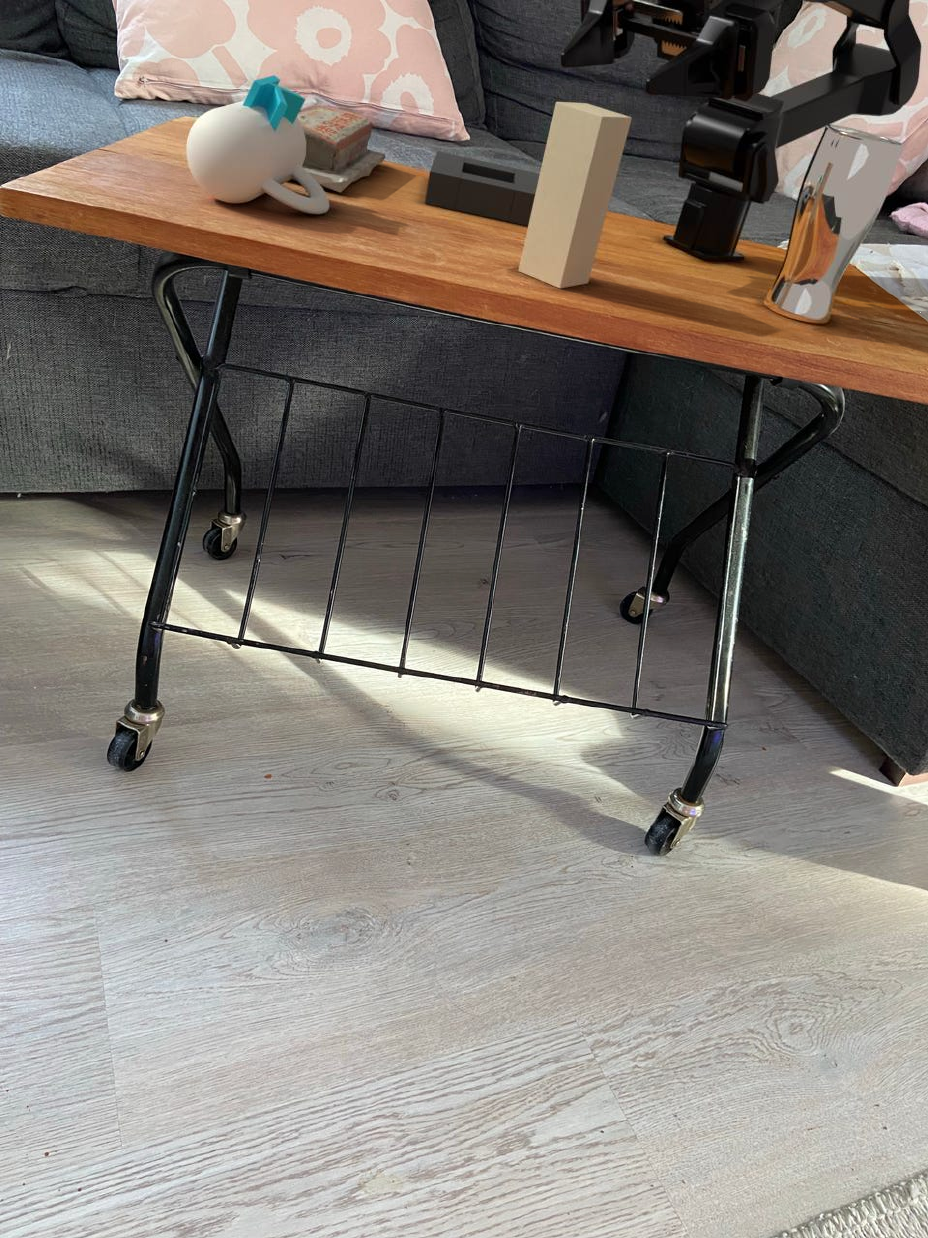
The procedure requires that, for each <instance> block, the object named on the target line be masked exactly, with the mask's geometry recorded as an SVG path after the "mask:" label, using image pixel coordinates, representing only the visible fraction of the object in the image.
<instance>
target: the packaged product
mask: <svg viewBox="0 0 928 1238" xmlns="http://www.w3.org/2000/svg"><path fill="white" fill-rule="evenodd" d="M297 118H298V120H299V121H300V123H301V125H302V127H303V130H304V134H305V139H306V156H305V159H304V162H303V165H302V167H303V168H304V169H305V170H306V171H307V172H308V173H309V174H310V175H311V176H312V177H313V178H314V179H315V180H316V181H317V182H318V183H319V185H320V186H321V187H322V189H327V190H329V191H330V190H331V191H334V192H337V193H342V192H343V191H344V190H345V189H346V188H347V187H348V186H349V185H350V184H352V183H354V182H356V181H358V180H360V179H361V178H363V177H369V176H370V175H371V173H372V170H373V169H374V168H375V167H377V166H378V165H379V164H381V163H384V160H385V158H386V153H384V152H379V151H374V150H371V149H368V146H369V145H368V144H369V142H370V141H369V140H370V139H371V136H372V133H373V128H374V127H373V126H374V124H373V122H372V121H371V120H370V119H368V118H367V117H366V116H364V114H362V113H359V112H354V111H350V110H346V109H341V108H337V107H334V106H329V105H323V104H319V105H315V106H312V107H309V108H306V109H303V110H300V111H299V113H298V115H297ZM290 181H295V182H297V181H296V180H295V179H294V178H292V179H290Z"/></svg>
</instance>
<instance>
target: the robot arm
mask: <svg viewBox="0 0 928 1238" xmlns="http://www.w3.org/2000/svg"><path fill="white" fill-rule="evenodd" d="M802 1H803V2H806V3H807V2H808V3H815V4H817V3H818V4H821V5H824V6H825V7H827V8H829V9H832V10H833V11H835V12H838V13H840V14H842V15H844V16H845V17H846V25H845V26H846V27H845V28H844V30H843V31H842V33H841V35H840V36H839V37H838V39H837V41H836V42H835V44H834V45H833V47H832V50H831V51H832V53H831V55H832V57H831V58H832V61H831V63H832V64H831V65H832V66H831V67H832V70H831V71H829V72H827V73H824V74H821V75H820V76H817V77H815V78H812V79H810V80H807V81H805V82H802V83H800V84H797V85H795V86H793V87H791V88H788V89H786V90H783V91H781V92H778V93H776V94H773V95H771V96H768V95H766V94H762V93H761V92H762V91H763V90H765V88H766V87H767V85H768V82H769V80H770V78H771V68H772V59H773V49H774V39H775V34H776V32H777V30H778V24H779V16H780V13H781V6H782V5H783V2H784V0H657V2H656V3H655V2H651V1H647V0H580V25H579V27H578V29H577V30H576V31H575V33H574V34H573V35H572V37H571V39H570V40H569V41H568V43H567V44H566V46H565V47H564V48H563V50H562V51H561V53H560V66H561V67H562V68H564V69H567V68H585V67H595V66H607V65H613V64H614V63H615V60H616V59H622V58H624V57H625V56H626V55H628V54H629V52H630V51H631V48H632V46H633V44H634V41H635V39H636V34H638V35H641V36H645V37H648V38H651V39H653V40H654V44H656V58H658V59H662V60H665V61H667V62H665V63H664V64H663V65H661V66H660V67H659V68H657V69H656V70H655V71H653V73H651V74H650V76H649V77H647V78H646V80H645V83H644V84H645V86H644V88H645V90H644V91H645V94H646V95H649V96H669V97H670V96H671V97H695V98H707V100H708V101H707V102H705V103H703V104H702V105H700V106H698V108H697V109H696V110H695V111H694V112H693V113H692V115H691V116H690V117H689V118H688V120H687V121H686V123H685V125H684V128H683V131H682V134H681V144H680V155H679V165H678V175H677V177H678V178H680V179H683V180H688V181H691V184H690V187H689V191H688V193H687V197H686V198H685V199H684V200H683V204H682V207H681V209H680V210H681V211H680V214H679V217H678V220H677V222H676V223H677V224H676V227H675V230H674V234H673V235H672V234H663V238H662V240H663V241H664V242H666V243H668V244H671V245H672V246H675V247H677V248H678V249H679V248H680V249H681V250H683V251H685V252H687V253H689V254H690V255H691V254H692V255H693V256H696V257H698V258H700V259H702V260H706V261H745V259H746V255H745V254H744V253H741V252H739V251H737V247H738V243H739V240H740V237H741V235H742V232H743V229H744V226H745V223H746V220H747V217H748V215H749V212H750V208H751V206H752V203H756V204H760V205H765V203H766V202H769V201H770V200H771V197H772V196H773V194H774V192H775V191H776V189H777V187H778V184H779V182H780V177H779V170H778V164H777V157H776V156H777V155H776V150H778V149H780V148H781V147H784V146H786V145H788V144H790V143H792V142H794V141H796V140H799V139H801V138H803V137H806V136H808V135H809V134H812V133H814V132H816V131H819V130H821V129H824V128H825V126H826V125H833V124H834V123H836V122H838V121H840V120H843V119H845V118H847V117H849V116H852V115H857V116H858V115H859V116H860V115H861V116H870V117H871V116H872V117H883V116H890V115H894V114H895V113H897V112H899V111H900V110H901V109H902V108H903V107H904V106H905V105H906V104H908V103H909V102H910V100H911V99H912V97H913V95H915V92H916V90H917V87H918V83H919V78H920V71H921V70H920V68H921V66H920V65H921V58H922V57H921V56H922V42H921V39H920V37H919V34H918V32H917V30H916V28H915V26H914V23H913V22H912V18H911V16H910V2H911V0H802ZM860 25H861V26H864V27H869V28H873V29H878V30H882V31H883V39H884V41H885V43H886V46H887V48H886V49H885V48H883V47H877V46H873V45H869V44H865V43H862V42H858V43H857V30H858V28H859V27H860Z"/></svg>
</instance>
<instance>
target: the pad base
mask: <svg viewBox="0 0 928 1238" xmlns="http://www.w3.org/2000/svg"><path fill="white" fill-rule="evenodd" d="M539 176H540V172H539V173H538V172H534V171H531V170H525V169H521V168H520V169H519V168H516V167H511V166H507V165H502V164H498V163H493V162H488V161H484V160H480V159H476V158H470V157H467V156H462V155H457V154H454V153H448V152H444V151H440V150H437V151H436V153H435V156H434V159H433V162H432V164H431V168H430V171H429V176H428V180H427V181H428V182H427V187H426V193H425V200H424V205H425V204H426V205H430V206H435V207H439V208H443V209H448V210H454V211H457V212H462V213H466V214H471V215H476V216H480V217H484V218H489V219H494V220H498V221H502V222H503V221H504V222H508V223H513V224H517V225H522V226H525V227H526V226H527V227H528V225H529V221H530V216H531V212H532V207H533V203H534V199H535V194H536V190H537V185H538V181H539Z"/></svg>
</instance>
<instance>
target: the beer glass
mask: <svg viewBox="0 0 928 1238" xmlns="http://www.w3.org/2000/svg"><path fill="white" fill-rule="evenodd" d="M904 147H905V145H904V144H903V143H902V142H900V141H898V140H895V139H891V138H889V137H885V136H883V135H878V134H875V133H872V132H867V131H864V130H860V129H856V128H851V127H846V126H842V125H836V124H830V125H826V126H825V127H824V130H823V132H822V135H821V136H820V139H819V140H818V143H817V146H816V147H815V150H814V152H813V154H812V156H811V158H810V162H809V164H808V166H807V169H806V172H805V174H804V176H803V180H802V182H801V185H800V189H799V192H798V194H797V195H798V196H797V199H796V203H795V206H794V207H795V208H794V212H793V218H792V221H791V226H790V232H789V237H788V242H787V246H786V251H785V255H784V259H783V260H782V261H783V262H782V265H781V267H780V270H779V271H778V274H777V276H776V278H775V280H774V281H773V283H772V285H771V287H770V289H769V290H768V292H767V293H766V296H765V298H764V299H763V303H764V306H765V307H766V308H768V309H769V310H771V311H772V312H774V313H776V314H778V315H781V316H783V317H786V318H788V319H792V320H796V321H799V322H804V323H808V324H815V325H816V324H817V325H818V324H819V325H822V324H827V323H828V322H829V321H830V319H831V316H832V311H833V307H834V301H835V297H836V294H837V290H838V288H839V284H840V282H841V280H842V279H843V276H844V274H845V272H846V270H847V268H848V267H849V265H850V263H851V261H852V259H854V256H855V255H856V254H857V252H858V250H859V249H860V247H861V245H862V244H863V242H864V240H865V238H866V237H867V236H868V233H869V232H870V230H871V228H872V226H873V225H874V222H875V221H876V220H877V217H878V215H879V213H880V212H881V209H882V206H883V205H884V203H885V200H886V197H887V195H888V192H889V189H890V187H891V185H892V182H893V178H894V175H895V173H896V170H897V167H898V163H899V161H900V157H901V155H902V151H903V149H904Z"/></svg>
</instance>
